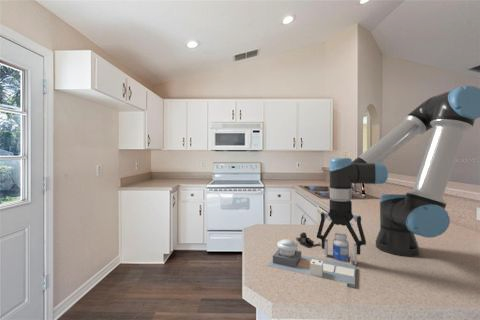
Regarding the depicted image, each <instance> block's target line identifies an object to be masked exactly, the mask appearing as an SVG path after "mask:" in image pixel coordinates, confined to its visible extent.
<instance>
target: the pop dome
mask: <svg viewBox="0 0 480 320" xmlns="http://www.w3.org/2000/svg"><path fill="white" fill-rule="evenodd" d="M276 245H277V249H278V250H280V255H281V256H286V257H291V258H292V257H293V256H294V255H295V251H296V250H298V249H299V247H298V246H299V244H298V243H297V241H294V240H292V239H288V238H287V239H286V238H284V239H280V240H279V241H278V242H277V244H276Z"/></svg>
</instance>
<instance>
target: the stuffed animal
mask: <svg viewBox="0 0 480 320" xmlns="http://www.w3.org/2000/svg"><path fill="white" fill-rule="evenodd" d="M307 235H308V234H307V233H306V232H304V231H302V232H301V233H300V234H299V236H295V240H296V242H299V245H301V246H302V247H305V248H308V249H310V248H311V247H316V246H317V247H319V246H320V245H322V242H320V241H319V242H318V243H314V241H313V240H312V239H311V238H310V237H308V236H307Z"/></svg>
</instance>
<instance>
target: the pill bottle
mask: <svg viewBox="0 0 480 320" xmlns="http://www.w3.org/2000/svg"><path fill="white" fill-rule="evenodd" d="M349 243H350V242H349V241H348V240H347V234H345V233H342V232H335V234H334V239H333V240H332V258H333V259H334V260H336V261H338V262H339V261H340V262H347V261H349V258H350V256H349V255H350V254H349V253H350V252H349V251H350V249H349V248H350V247H349V246H350V245H349Z"/></svg>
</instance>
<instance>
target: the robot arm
mask: <svg viewBox="0 0 480 320" xmlns="http://www.w3.org/2000/svg"><path fill="white" fill-rule="evenodd" d="M479 118H480V87H477V86H475V85H464V86H458V87H455V88H453V89H451V90H448V91H446V92H443V93H441V94H437V95H434V96H432V97H429V98H428V99H426V100H425V101H423V102H422V103H421V104H420V105H418V106H417V107H415V109H413V110H412V111H411V112H410V113H408V114H407V115H405V116H404V118H403V121H402V122H401V123H399V124H398V125H397V126H396V127H395V128H393V129H392V130H391V131H389V132H388V133H387V134H386V135H385V136H383V137H382V138H381V139H379V140H378V141H377V142H375V143H374V144H373V145H372V146H370V147H368V149H367V150H365V151H364V152H363V153H361V154H360V155H359V156H358V157H356V158H355V159H354V160H353V161H352V159H351V158H350V157H332V158H331V159H330V160H329V170H328V172H329V198H330V199H329V211H328V212H324V211H322V212H321V213H320V221H319V226H318V231H317V233H316V239H319V240H321V249H322V250H324V258H327V257H328V254H329V253H328V251H329V249H328V245H329V243H328V241H329V240H328V238H327V237H328V235H329V234H330V232H331V231H332V229H333V227H334V226H335V225H337V226H340V225H341V226H343V227H346V228H347V230H348V231H349V233H350V235H351V237H352V239H353V241H354V250H353V251H354V252H353V254H354V255H353V256H354V259H353V260H354V262H353V263H354V265H357V264H358V263H357V262H358V255H359V256H360V255H361V246H366V245H367V241H366V236H365V233H364V229H363V226H362V216H361V215H354V214H353V210H352V209H353V204H352V203H353V202H352V198H353V197H352V195H353V193H352V191H353V189H352V188H353V187H352V185H354V184H355V185H356V184H360V185H362V184H364V185H371V184H372V185H378V184H379V185H382V184H384V183H386V182H387V180H388V178H389V173H388V172H389V170H388V167H387V166H386V165H385V164H383V162H384V161H386V159H388V158H390V156H392V155H393V154H395V153H396V152H397V151H399V149H401V148H403V146H405V145H406V144H408V143H409V142H410V141H411V140H413V139H414V138H415V137H417V136H418V135H424V134H425V133H426V132H428V131H429V130H431V129H432V133H431V135H430V138H429V141H428V144H427V146H426V150H425V153H424V156H423V159H422V162H421V165H420V169H419V171H418V174H417V177H416V180H415V182H414V186H413V189H412V190H409V191H406V193H405V194H398V193H397V194H395V193H394V194H388V193H384V194H381V195H380V198H379V199H380V200H379V220H380V221H379V222H380V223H379V224H380V226H379V227H380V228H379V231H378V234H377V236H376V239H375V247H376V248H377V249H378V250H380V251H382V252H385V253H388V254H390V255H396V256H402V257H403V256H404V257H413V256H414V257H415V256H418V255H420V246H419V244H418V240H417V238H416V236H420V237H423V238H431V239H432V238H435V237H439V236H441V235H443V234H444V233H446V231H447V230H448V229H449V226H450V222H451V218H450V217H451V216H449V212H448V211H447V210H446V206H447V202H446V201H445V199H444V195H445V191H446V189H447V186H448V182H449V179H450V177H451V173H452V170H453V167H454V165H455V163H456V159H457V157H458V152H459V150H460V148H461V144H462V141H463V139H464V135H465V133H467V132H468V131H471V130H473V127H474V124H475V122H476V120H477V119H479ZM328 217H329V218H330V220H331V222H330V224H329V225H328V226H327V228H326V230H325V232H323V229H324V225H325V221H326V219H327V218H328ZM352 220H354V222H355V223H356V225H357V230H358V233H359V237H360V239H359V237H358V236H357V233H356V231H355V230H354V228H353V226H352V224H351V221H352ZM322 232H323V235H322ZM415 235H416V236H415Z"/></svg>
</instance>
